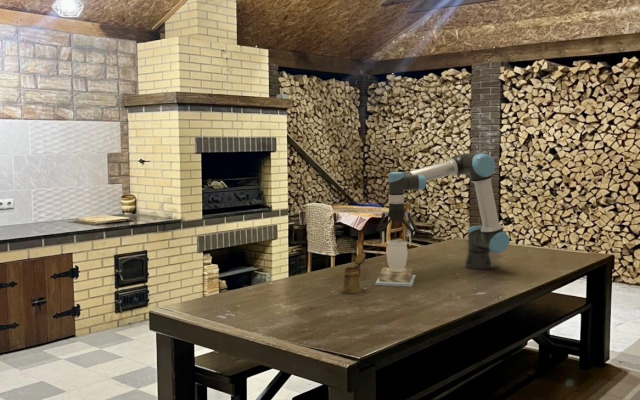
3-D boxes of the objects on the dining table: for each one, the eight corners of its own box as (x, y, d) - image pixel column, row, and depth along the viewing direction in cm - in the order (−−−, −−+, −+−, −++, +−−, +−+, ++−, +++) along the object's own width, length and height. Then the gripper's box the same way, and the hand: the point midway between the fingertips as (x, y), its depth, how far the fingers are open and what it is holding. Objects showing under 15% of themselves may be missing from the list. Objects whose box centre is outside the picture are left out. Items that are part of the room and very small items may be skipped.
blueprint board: (415, 277, 346) (415, 274, 346) (412, 286, 325) (412, 284, 325) (381, 275, 350) (381, 273, 350) (375, 285, 329) (375, 282, 329)
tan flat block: (412, 276, 343) (412, 268, 343) (409, 282, 329) (409, 274, 328) (383, 275, 346) (383, 267, 346) (379, 281, 332) (379, 273, 331)
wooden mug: (371, 289, 320) (371, 252, 318) (352, 294, 310) (352, 256, 308) (357, 286, 326) (357, 250, 324) (338, 291, 316) (338, 254, 315)
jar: (407, 269, 342) (407, 240, 340) (407, 273, 331) (407, 243, 330) (386, 268, 343) (386, 239, 341) (386, 272, 333) (386, 243, 331)
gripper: (422, 202, 335) (422, 244, 337) (372, 202, 340) (373, 243, 342) (421, 203, 327) (421, 246, 330) (370, 203, 333) (370, 245, 335)
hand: (396, 245), depth 336 cm, fingers open, 13 cm apart
